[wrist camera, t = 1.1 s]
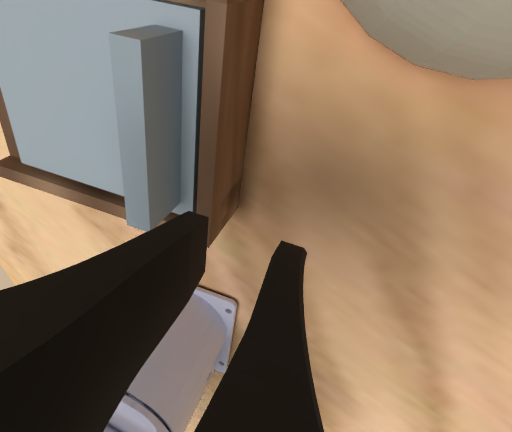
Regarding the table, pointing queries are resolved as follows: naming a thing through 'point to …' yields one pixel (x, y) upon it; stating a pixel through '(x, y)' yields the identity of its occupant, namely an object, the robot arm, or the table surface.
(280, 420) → the robot arm
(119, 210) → the box
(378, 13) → the kitchen timer
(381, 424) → the table surface
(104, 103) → the lid
